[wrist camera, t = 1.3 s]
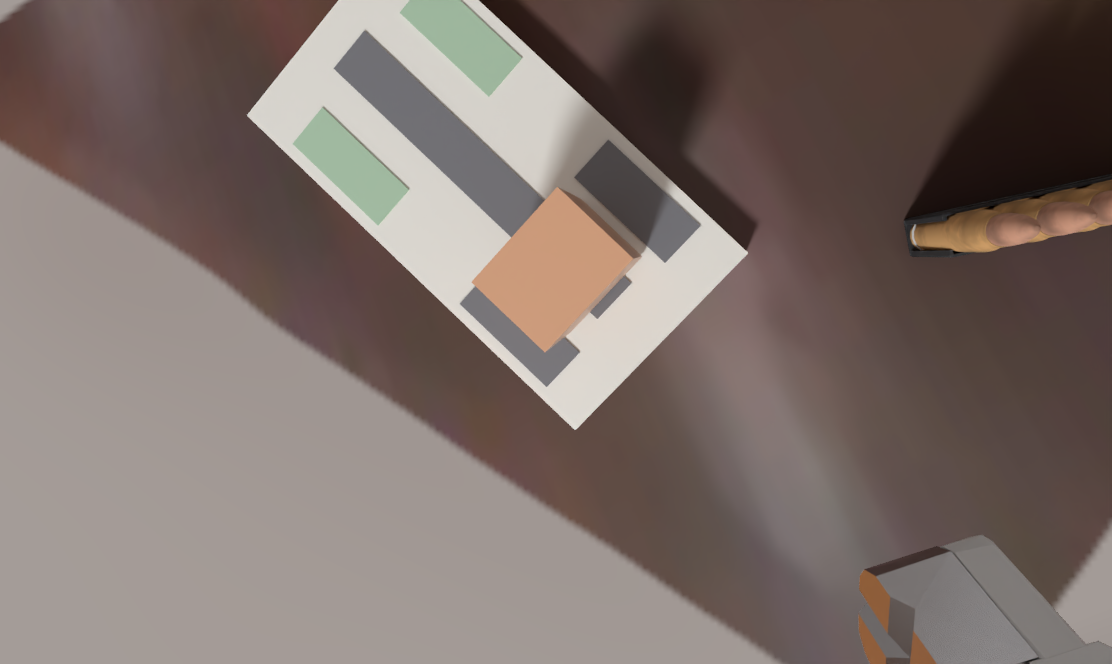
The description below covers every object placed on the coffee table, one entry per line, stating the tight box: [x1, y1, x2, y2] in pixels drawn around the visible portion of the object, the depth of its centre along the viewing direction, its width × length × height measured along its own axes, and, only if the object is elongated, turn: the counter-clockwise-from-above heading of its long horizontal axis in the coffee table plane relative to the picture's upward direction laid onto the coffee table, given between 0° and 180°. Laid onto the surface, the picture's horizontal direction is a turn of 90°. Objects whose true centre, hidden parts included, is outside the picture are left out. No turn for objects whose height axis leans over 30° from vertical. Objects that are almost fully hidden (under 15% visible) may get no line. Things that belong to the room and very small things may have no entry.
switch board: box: [247, 0, 748, 430], centre depth 40 cm, size 12×23×2 cm, turn 47°
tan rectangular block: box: [472, 187, 642, 352], centre depth 35 cm, size 5×4×8 cm
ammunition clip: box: [904, 174, 1112, 257], centre depth 32 cm, size 11×2×12 cm, turn 103°
